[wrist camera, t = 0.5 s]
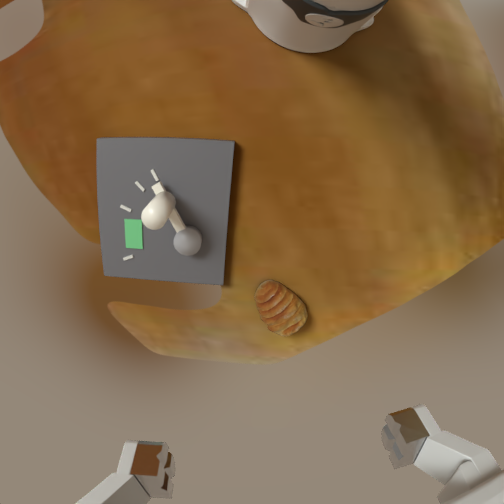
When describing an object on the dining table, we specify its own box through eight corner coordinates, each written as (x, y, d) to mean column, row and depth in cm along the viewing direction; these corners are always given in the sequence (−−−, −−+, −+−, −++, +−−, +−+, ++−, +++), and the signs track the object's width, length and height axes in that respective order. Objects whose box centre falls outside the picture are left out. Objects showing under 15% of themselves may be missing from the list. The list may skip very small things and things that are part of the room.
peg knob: (206, 244, 42) (202, 270, 35) (183, 254, 42) (175, 281, 36) (170, 175, 38) (156, 189, 31) (146, 188, 38) (128, 204, 32)
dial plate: (101, 137, 37) (96, 138, 35) (234, 140, 38) (234, 141, 37) (107, 270, 45) (103, 276, 43) (223, 280, 47) (223, 285, 45)
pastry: (242, 292, 48) (243, 306, 44) (280, 268, 47) (284, 281, 43) (275, 330, 51) (278, 345, 48) (310, 310, 50) (315, 324, 47)
